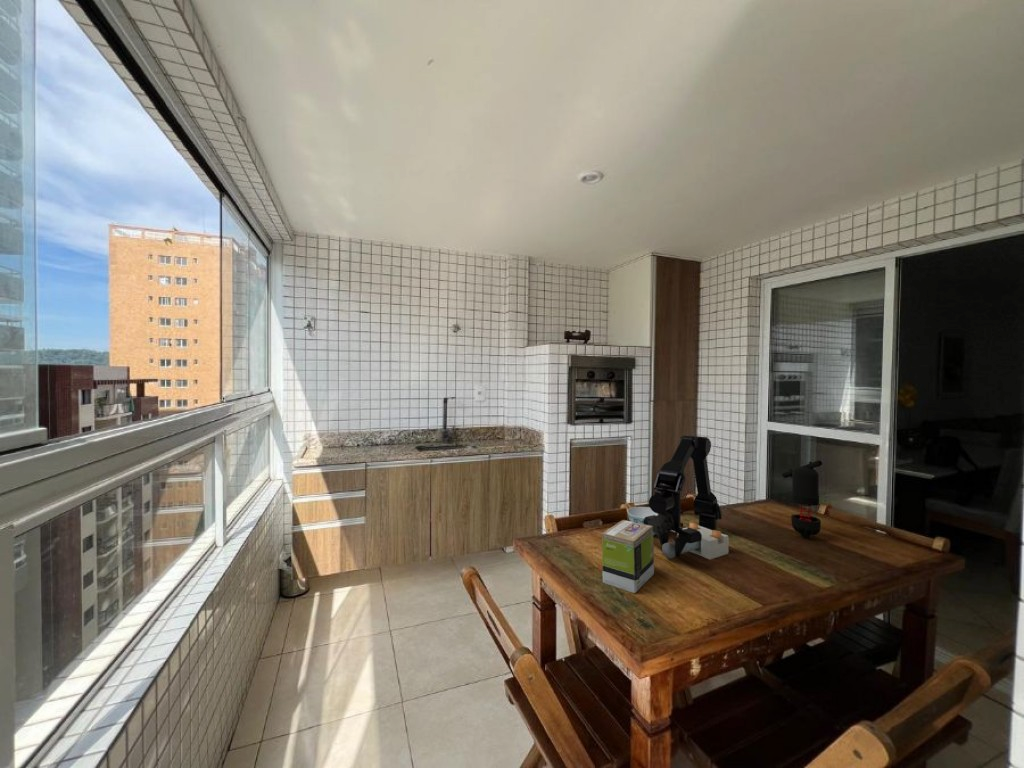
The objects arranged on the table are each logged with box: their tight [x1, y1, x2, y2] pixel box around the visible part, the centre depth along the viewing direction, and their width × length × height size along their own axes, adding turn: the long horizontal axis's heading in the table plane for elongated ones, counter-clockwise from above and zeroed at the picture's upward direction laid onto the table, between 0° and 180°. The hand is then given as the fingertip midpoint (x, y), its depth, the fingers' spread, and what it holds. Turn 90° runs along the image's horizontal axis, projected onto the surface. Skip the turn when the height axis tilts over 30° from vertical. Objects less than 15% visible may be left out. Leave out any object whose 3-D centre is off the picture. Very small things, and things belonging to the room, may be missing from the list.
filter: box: [781, 459, 823, 540], centre depth 150 cm, size 14×9×30 cm
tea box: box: [601, 519, 655, 594], centre depth 116 cm, size 15×10×15 cm
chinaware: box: [627, 506, 658, 536], centre depth 154 cm, size 15×15×8 cm
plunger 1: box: [688, 521, 699, 530], centre depth 142 cm, size 3×3×2 cm
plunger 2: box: [712, 530, 722, 541], centre depth 134 cm, size 3×3×2 cm
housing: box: [682, 525, 729, 561], centre depth 137 cm, size 10×12×6 cm
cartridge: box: [661, 540, 701, 559], centre depth 133 cm, size 16×5×5 cm, turn 119°
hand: (670, 554), depth 129 cm, fingers closed on cartridge, 5 cm apart
